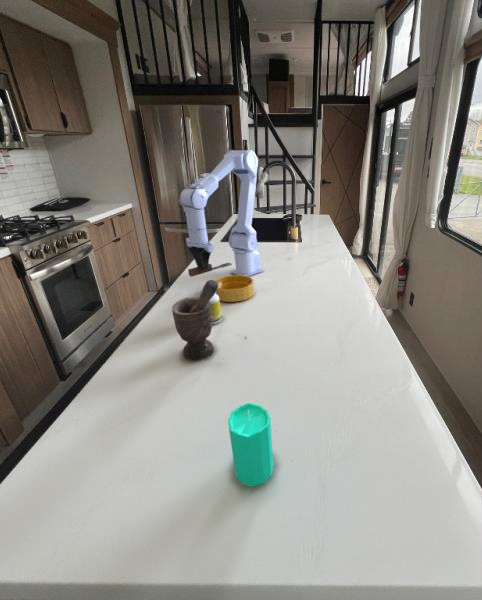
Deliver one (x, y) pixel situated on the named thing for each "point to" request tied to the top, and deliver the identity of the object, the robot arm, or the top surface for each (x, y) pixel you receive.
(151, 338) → the top surface
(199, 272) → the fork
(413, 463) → the top surface
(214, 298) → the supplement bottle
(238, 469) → the candle
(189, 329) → the mortar and pestle
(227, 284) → the bowl
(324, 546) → the top surface
